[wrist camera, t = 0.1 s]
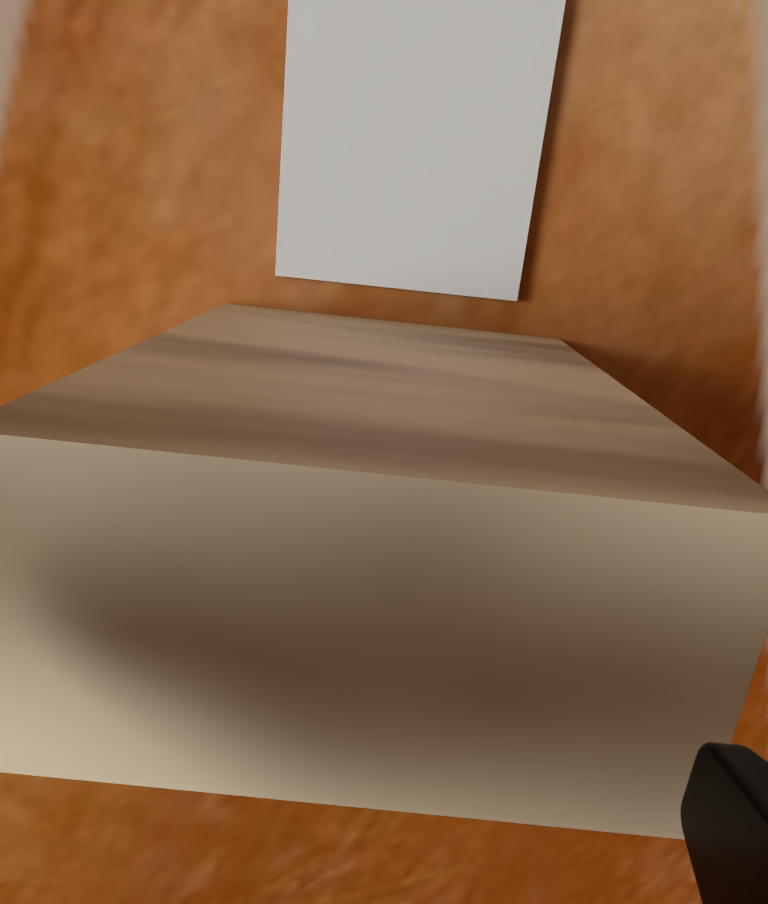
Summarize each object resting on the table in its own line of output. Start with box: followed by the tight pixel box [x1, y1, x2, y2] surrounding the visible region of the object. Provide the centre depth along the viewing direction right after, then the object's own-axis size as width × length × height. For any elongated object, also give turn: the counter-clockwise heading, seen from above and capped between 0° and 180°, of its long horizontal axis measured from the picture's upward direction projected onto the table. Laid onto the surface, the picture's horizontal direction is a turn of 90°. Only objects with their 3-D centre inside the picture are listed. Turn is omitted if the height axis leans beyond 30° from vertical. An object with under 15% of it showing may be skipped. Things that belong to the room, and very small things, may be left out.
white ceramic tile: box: [275, 0, 566, 301], centre depth 18 cm, size 10×7×1 cm, turn 174°
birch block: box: [0, 304, 768, 839], centre depth 15 cm, size 5×10×13 cm, turn 84°
